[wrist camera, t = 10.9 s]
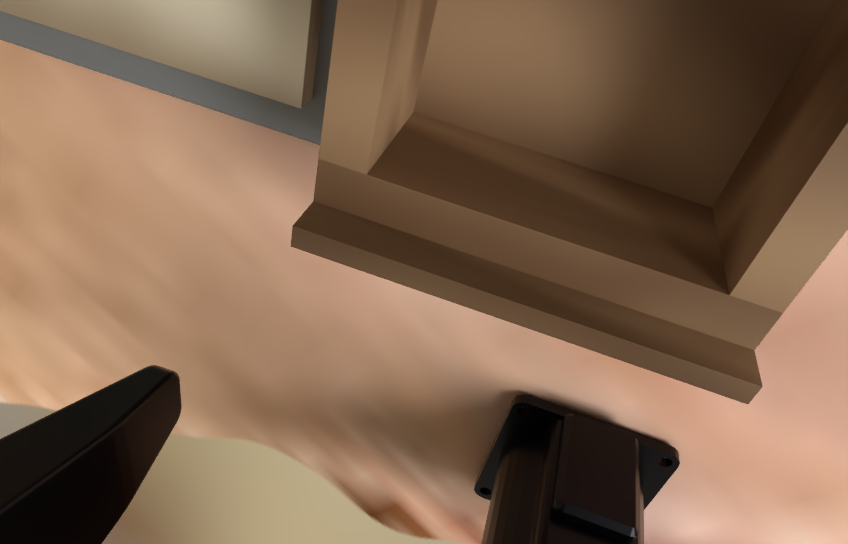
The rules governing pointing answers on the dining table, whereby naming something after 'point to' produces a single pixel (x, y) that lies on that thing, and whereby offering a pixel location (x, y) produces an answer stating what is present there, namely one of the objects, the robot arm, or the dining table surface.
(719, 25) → the walnut box
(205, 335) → the dining table surface
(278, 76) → the cover plate
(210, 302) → the dining table surface
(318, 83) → the rubber mat
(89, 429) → the robot arm
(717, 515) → the dining table surface
